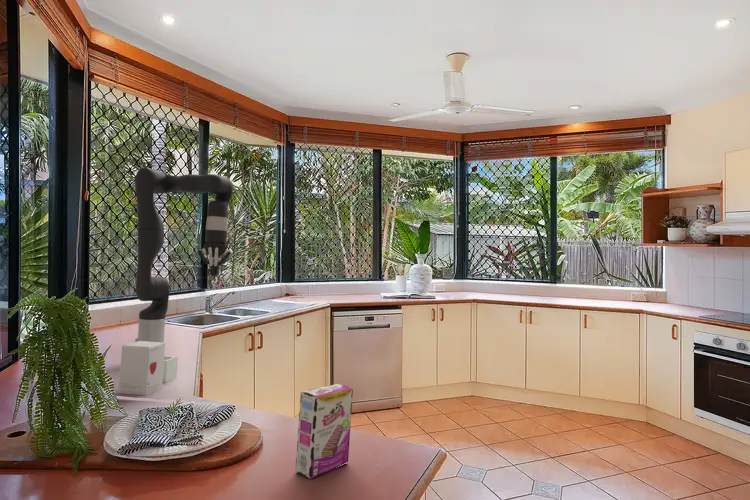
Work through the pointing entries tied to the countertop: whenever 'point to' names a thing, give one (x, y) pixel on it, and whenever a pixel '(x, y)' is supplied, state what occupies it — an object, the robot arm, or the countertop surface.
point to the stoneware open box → (169, 368)
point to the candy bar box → (323, 429)
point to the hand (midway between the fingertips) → (214, 276)
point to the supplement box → (141, 367)
